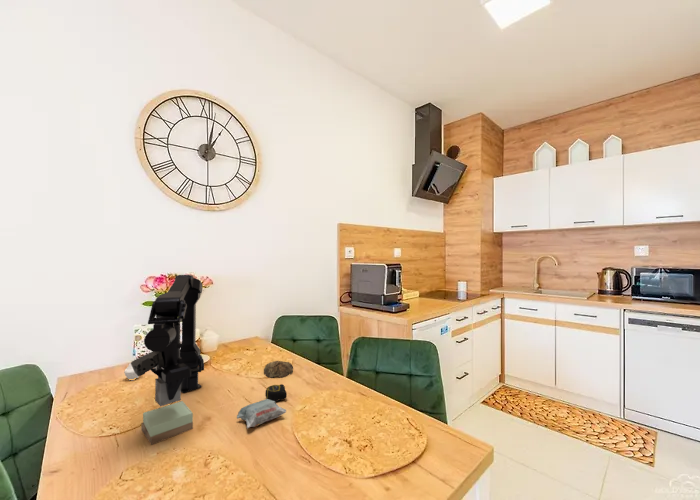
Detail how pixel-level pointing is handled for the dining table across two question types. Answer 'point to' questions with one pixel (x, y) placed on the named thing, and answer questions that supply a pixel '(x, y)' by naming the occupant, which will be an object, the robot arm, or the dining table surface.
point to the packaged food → (260, 412)
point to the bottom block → (165, 433)
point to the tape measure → (276, 392)
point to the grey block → (164, 393)
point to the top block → (167, 418)
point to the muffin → (130, 372)
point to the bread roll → (278, 369)
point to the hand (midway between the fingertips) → (167, 396)
